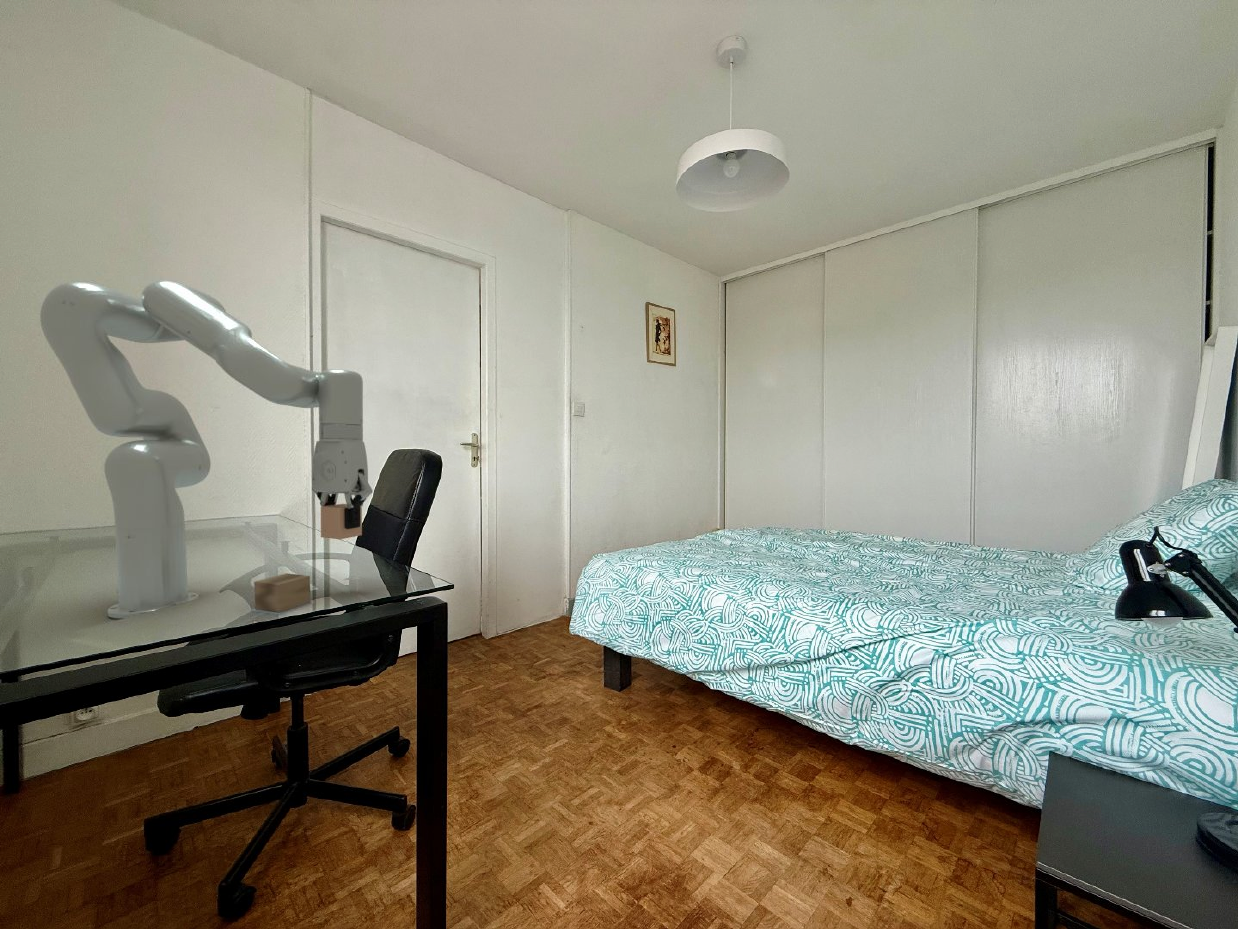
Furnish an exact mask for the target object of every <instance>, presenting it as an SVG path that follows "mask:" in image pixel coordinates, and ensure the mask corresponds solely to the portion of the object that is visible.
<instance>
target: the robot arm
mask: <svg viewBox="0 0 1238 929" xmlns="http://www.w3.org/2000/svg"><path fill="white" fill-rule="evenodd" d="M140 295H141V296H140V298H139V297H136V296H134V295H131V294H128V293H124V292H122V291H120V290H117V289H114V288H111V287H108V286H104V285H102V284H97V283H93V282H88V281H68V282H67V281H66V282H63V283H60V284H59V285H57V286H55V287H54V288H53V289H51V290H50V291H49V292H48V294H47V295H46V297H45V298H44V300H43V301H42V305H41V308H40V314H39V318H40V319H39V320H40V326H41V330H42V332H43V335H44V336H45V337H44V338H45V340H46V341H47V343H48V345H49V346H50V348H51V350H52V351H53V353H54V354H55V356H56V357H57V359H58V360H59V363H60V364H61V366H62V368H63V370H64V371H65V372H66V375H67V376H68V379H69V381H70V383H71V385H72V387H73V389H74V391H75V393H76V395H77V398H78V399H79V401H80V403H81V405H82V407H83V408H84V409H83V410H84V411H85V413H86V415H87V416H88V418H89V420H90V423H92V425H93V426H94V427H95V429H96V430H97V431H99V432H100V433H102V434H104V435H107V436H111V437H116V438H142V440H141V439H140V440H139V439H138V440H132V441H127V442H125V443H122V444H120V445H118V446H116V447H114V448H113V449H112V450H111V451H110V452H109V453H108V455H107V456H106V459H105V462H104V466H103V467H104V470H103V471H104V476H105V480H106V483H107V486H108V489H109V491H110V492H109V493H110V495H111V500H112V506H113V512H114V513H113V515H114V529H115V530H114V531H115V546H116V547H115V549H116V564H117V565H116V566H117V567H116V568H117V583H118V588H117V589H116V591H115V592H116V594H117V595H118V603H116V604H113V605H112V606H110V607H109V608H108V609H107V616H108V617H110V618H112V619H123V620H124V619H127V618H130V617H134V616H138V615H142V614H146V613H149V612H153V611H157V610H158V611H159V610H161V609H165V608H168V607H172V606H176V605H180V604H183V603H188V602H191V601H195V600H199V599H200V598H199V593H196V592H191V591H189V586H188V584H189V583H188V567H187V566H188V565H187V563H188V562H187V560H188V559H187V544H186V540H187V539H186V522H185V510H184V506H183V503H182V500H181V499H180V496H179V495H178V493H177V489H180V488H187V487H192V486H195V485H197V484H199V483H201V482H203V481H204V480H205V479H206V477H208V475H209V473H210V471H211V464H212V463H211V457H210V453H209V451H208V449H207V446H206V444H205V443H204V441H203V439H202V436H201V435H200V433H199V430H198V428H197V427H196V425H195V422H194V420H193V418H192V416H191V415H190V413H189V410H188V409H187V408H186V407H185V405H184V404H183V403H182V402H181V401H180V400H179V399H178V398H177V397H175V396H173V395H172V394H169V393H167V392H164V391H161V390H156V389H149V388H145V387H144V386H143V385H142V384H141V382H140V381H139V379H138V377H137V376H136V374H135V371H134V370H133V368H132V366H131V364H130V361H129V360H128V359H127V357H126V356H125V355H124V354H123V352H122V351H120V350H119V348H118V347H117V346H116V345H115V344H114V343H113V342H112V340H111V339H110V338H109V337H112V338H113V337H114V338H117V339H121V340H125V341H130V342H134V343H138V344H139V343H141V344H156V343H158V344H159V343H160V344H161V343H167V342H168V343H169V342H170V343H171V342H181V341H185V342H187V343H188V344H190V345H192V346H193V347H195V348H196V349H198V350H200V351H201V352H202V353H203V354H205V355H207V356H209V357H210V358H212V360H214V361H215V363H216V364H217V365H218V366H219V367H220V368H221V369H222V370H223V371H224V372H225V373H226V374H227V375H228V376H230V377H231V378H232V379H233V380H235V381H237V382H238V383H240V384H241V385H242V386H244V387H245V388H247V389H248V390H250V391H252V392H253V393H255V394H257V395H258V396H259V397H261V398H263V399H265V400H266V401H269V402H270V403H274V404H276V405H280V406H281V405H282V406H290V407H293V408H294V407H295V408H300V409H301V408H302V409H316V408H318V440H316V443H315V446H314V453H313V457H312V469H311V470H312V471H311V490H312V491H313V492H314V493H315V495H316V497H317V498H318V500H319V504H320V507H321V506H329V505H337V503H338V502H337V501H338V498H339V494H344V499H345V504H347V508H345V529H352V528H357V527H360V507H362V508H363V506H364V502H365V501H366V500H367V498H368V497H369V496H370V495H372V494H373V491H374V490H373V488H372V486H371V485H370V484H369V466H368V458H367V457H368V456H367V451H366V445H365V442H364V424H363V423H364V407H363V406H364V395H363V394H364V383H363V382H364V381H363V377H362V375H361V374H360V373H359V372H356V371H353V370H347V369H336V368H335V369H324V370H322V371H321V372H319V371H313V370H309V369H306V368H303V367H300V366H297V365H293V364H290V363H288V362H286V361H284V360H282V358H280V357H278V356H276V355H275V354H274V353H273V352H271V351H269V350H267V349H266V348H265V347H263V346H261V345H260V344H259V343H258V342H256V340H254V339H253V338H252V337H253V336H252V335H253V334H252V330H251V329H250V328H249V326H248V325H247V324H245V323H244V322H242V321H241V320H240V319H237V318H236V317H235V316H233V315H231V314H230V313H229V312H227V311H226V308H224V305H223V304H222V303H221V302H220V301H218V300H217V299H216V298H215V297H213V296H211V295H209V294H207V293H206V292H205V293H204V292H203V291H201V290H197V289H196V288H193V287H191V286H188V285H187V284H184V283H181V282H178V281H174V280H167V279H166V280H165V279H164V280H163V279H162V280H158V281H157V280H155V281H154V282H151V283H149V284H148V285H147V286H145V287H144V289H143V290H142V292H141V294H140ZM353 496H354V497H353Z"/></svg>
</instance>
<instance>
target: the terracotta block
mask: <svg viewBox="0 0 1238 929" xmlns="http://www.w3.org/2000/svg"><path fill="white" fill-rule="evenodd" d="M345 508H347V504H346V503H338V504H337V503H336V505H329V506H321V505H320V538H324V539H331V540H332V539H334V540H344V539H349V538H355V537H359V536H363V535H362V534H363V528H362V527H363V525H362V524H363V523H362V522H363V517H362V516H363V515H362V514H363V513H362V512H363V511H362V510H363V506H362V507H360V527H357V528H352V529H345Z"/></svg>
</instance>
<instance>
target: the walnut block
mask: <svg viewBox="0 0 1238 929" xmlns="http://www.w3.org/2000/svg"><path fill="white" fill-rule="evenodd" d="M253 582H254V583H253V584H254V585H253V586H254V602H255V603H254V606H255V607H254V609H256V610H262V611H269V612H275V613H281V612H284V611H287V610H290V609H293V608H296V607H299V606H302V605H305V604H308V603H311V602H312V601H311V600H312V599H311V575H304V574H296V573H295V574H294V573H282V574H279V575H275V576H270V577H268V578H263V579H260V580H256V581H253Z"/></svg>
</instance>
